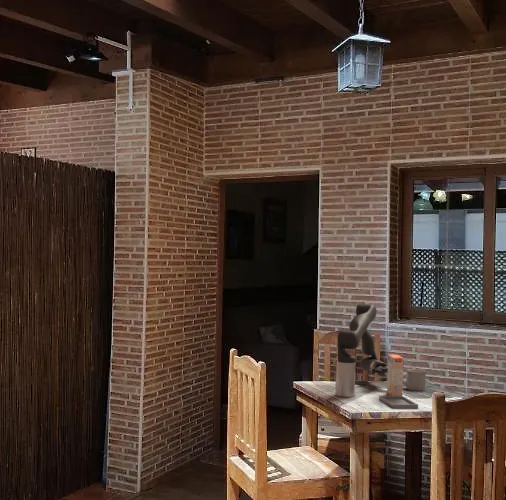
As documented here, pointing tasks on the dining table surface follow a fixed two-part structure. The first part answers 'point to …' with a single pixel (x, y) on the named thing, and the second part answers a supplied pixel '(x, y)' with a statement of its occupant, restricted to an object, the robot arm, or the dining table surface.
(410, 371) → the coffee mug
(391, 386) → the cracker box
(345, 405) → the dining table surface
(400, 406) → the tray
